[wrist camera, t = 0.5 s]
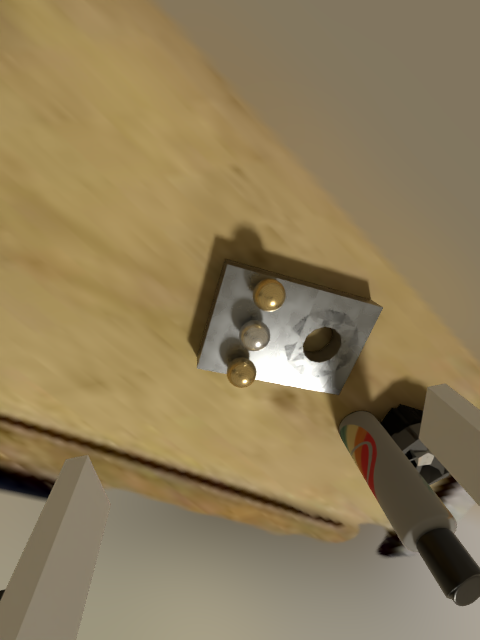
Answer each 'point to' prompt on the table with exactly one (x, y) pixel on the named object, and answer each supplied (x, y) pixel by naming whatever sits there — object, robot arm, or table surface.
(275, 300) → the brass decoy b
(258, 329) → the steel ball
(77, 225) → the table surface
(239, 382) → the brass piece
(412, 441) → the cpu cooler
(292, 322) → the bearing plate
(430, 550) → the lotion bottle
